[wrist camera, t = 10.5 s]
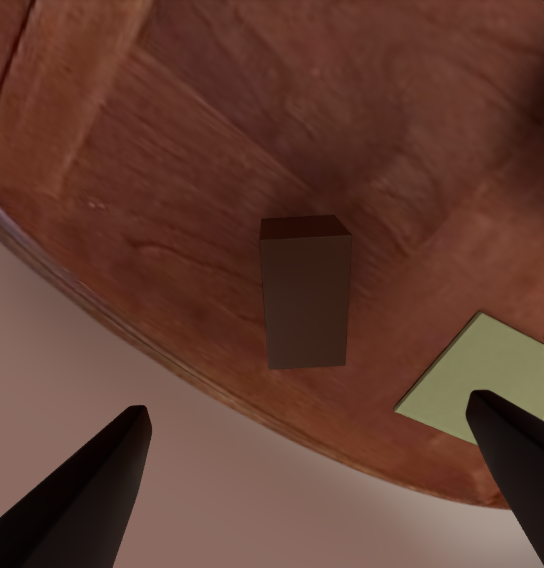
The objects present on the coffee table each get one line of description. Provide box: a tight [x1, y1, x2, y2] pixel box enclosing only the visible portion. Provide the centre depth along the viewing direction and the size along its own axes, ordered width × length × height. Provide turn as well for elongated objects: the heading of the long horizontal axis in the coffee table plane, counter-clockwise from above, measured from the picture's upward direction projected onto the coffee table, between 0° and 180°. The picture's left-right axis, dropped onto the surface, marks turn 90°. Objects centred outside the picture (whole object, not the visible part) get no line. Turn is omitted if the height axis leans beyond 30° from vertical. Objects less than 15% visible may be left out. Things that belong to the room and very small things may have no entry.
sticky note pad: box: [394, 311, 544, 445], centre depth 23 cm, size 9×12×1 cm
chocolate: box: [259, 215, 352, 369], centre depth 17 cm, size 7×4×4 cm, turn 3°
